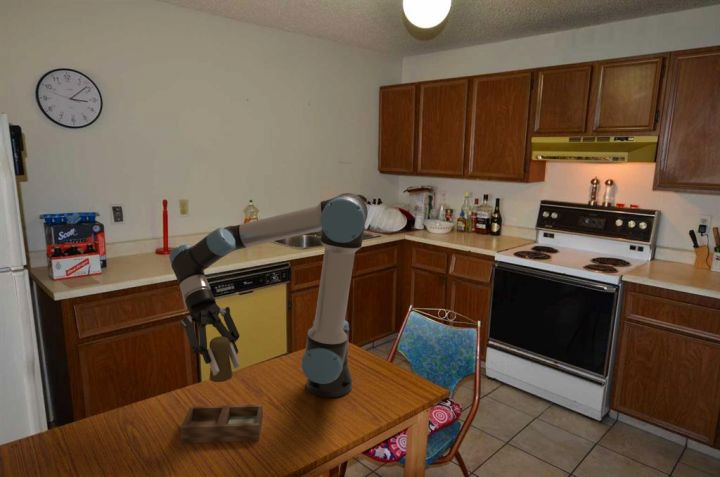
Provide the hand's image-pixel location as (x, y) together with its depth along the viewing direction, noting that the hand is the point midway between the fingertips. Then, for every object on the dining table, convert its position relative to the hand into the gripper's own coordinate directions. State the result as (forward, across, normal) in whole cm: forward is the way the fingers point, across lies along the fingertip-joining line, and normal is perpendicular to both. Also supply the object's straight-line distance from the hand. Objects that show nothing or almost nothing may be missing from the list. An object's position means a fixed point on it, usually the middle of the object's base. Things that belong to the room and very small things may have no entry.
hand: (227, 369), depth 119 cm
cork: (0, 0, -5) cm, 5 cm away
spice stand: (+11, 0, -16) cm, 19 cm away
